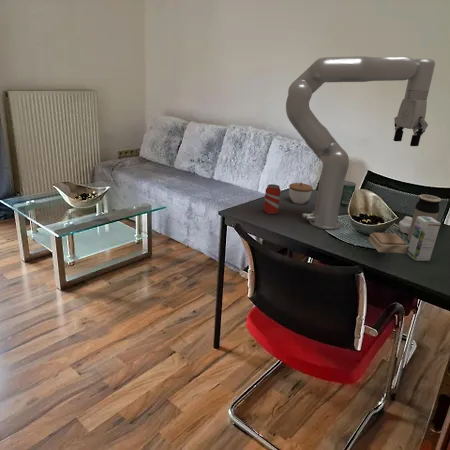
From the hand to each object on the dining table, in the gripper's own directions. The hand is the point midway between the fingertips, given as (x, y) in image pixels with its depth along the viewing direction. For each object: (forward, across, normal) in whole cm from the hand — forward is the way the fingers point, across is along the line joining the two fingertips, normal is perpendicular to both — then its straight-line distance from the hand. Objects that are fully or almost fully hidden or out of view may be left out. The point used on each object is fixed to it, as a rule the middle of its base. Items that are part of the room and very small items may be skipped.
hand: (405, 143), depth 150 cm
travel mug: (+36, +12, +6) cm, 38 cm away
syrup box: (+36, +24, -4) cm, 43 cm away
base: (+36, +15, -10) cm, 40 cm away
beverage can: (+35, -24, -42) cm, 59 cm away
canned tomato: (+36, -30, -2) cm, 47 cm away
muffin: (+36, +3, +7) cm, 36 cm away
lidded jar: (+35, -37, -23) cm, 56 cm away
